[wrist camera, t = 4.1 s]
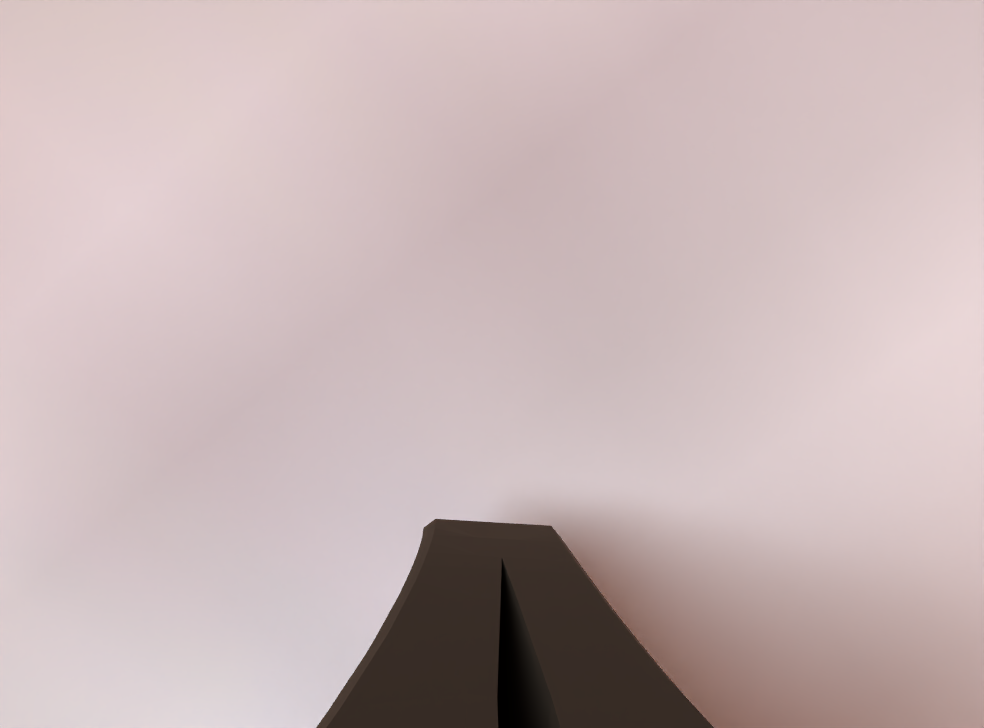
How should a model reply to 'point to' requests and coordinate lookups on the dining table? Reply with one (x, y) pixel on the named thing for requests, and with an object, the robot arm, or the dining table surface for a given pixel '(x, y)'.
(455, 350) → the dining table surface
